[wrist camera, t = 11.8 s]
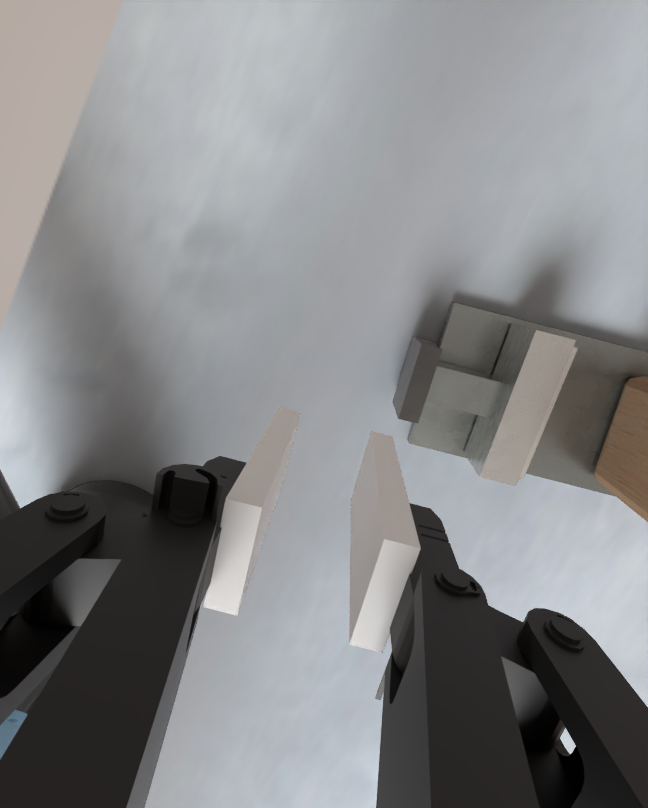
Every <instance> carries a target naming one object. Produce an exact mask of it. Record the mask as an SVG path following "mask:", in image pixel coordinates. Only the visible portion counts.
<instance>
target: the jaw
mask: <svg viewBox="0 0 648 808" xmlns="http://www.w3.org/2000/svg"><path fill="white" fill-rule="evenodd" d="M575 342H576V340H573V339H570V338H566V337H562V336H558V335H554V334H550V333H546V332H542V331H539V330H535V329H531V328H527V327H523V326H519V325H515V324H511V327H510V329H509V332H508V335H507V338H506V340H505V343H504V346H503V348H502V351H501V354H500V357H499V359H498V362H497V365H496V367H495V370H494V373H493V375H491V374H487V373H483V372H480V371H476V370H472V369H468V368H464V367H460V366H456V365H452V364H448V363H445V362H441V361H439V359H440V355H441V352H442V348H440V347H439V346H437V345H436V344H435V343H433V342H432V341H430V340H426V339H422V338H419V337H415V336H413V337H412V340H411V343H410V346H409V350H408V353H407V356H406V359H405V363H404V366H403V369H402V373H401V376H400V379H399V382H398V386H397V389H396V392H395V395H394V399H393V404H394V407H395V410H396V413H397V416H398V419H402V420H406V421H410V422H414V423H419V419H420V416H421V413H422V410H423V407H424V404H425V402H428V403H432V404H436V405H440V406H444V407H448V408H452V409H455V410H459V411H463V412H467V413H471V414H475V415H478V416H477V419H476V422H475V425H474V427H473V430H472V433H471V435H470V438H469V441H468V444H467V446H466V449H465V452H464V454H465V455H466V457H467V458H468V460H469V461H470V463H471V465H472V466H473V468H474V469H475V471H476V472H477V474H478V475H479V477H482V478H486V479H490V480H494V481H498V482H502V483H506V484H510V485H513V486H516V484H517V482H518V480H519V479H522V480H523V479H524V476H525V474H526V471H527V469H528V467H529V464H530V462H531V459H532V457H533V455H534V452H535V450H536V447H537V445H538V443H539V440H540V438H541V435H542V433H543V431H544V428H545V426H546V424H547V421H548V419H549V416H550V414H551V412H552V409H553V407H554V404H555V402H556V400H557V397H558V395H559V392H560V390H561V388H562V385H563V383H564V380H565V378H566V376H567V373H568V371H569V369H570V366H571V364H572V361H573V359H574V357H575V354H576V352H577V349H578V348H576V347H574V345H575Z"/></svg>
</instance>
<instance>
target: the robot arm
mask: <svg viewBox="0 0 648 808" xmlns="http://www.w3.org/2000/svg"><path fill="white" fill-rule="evenodd" d="M300 414H301V413H298V412H294V411H290V410H287V409H283V408H279V410H278V411H277V413H276V415H275V416H274V418H273V420H272V421H271V423H270V425H269V426H268V428H267V430H266V431H265V433H264V435H263V436H262V438H261V440H260V441H259V443H258V445H257V447H256V448H255V450H254V452H253V453H252V455H251V457H250V458H249V460H248V462H247V463H245V462H241V461H237V460H233V459H230V458H226V457H222V456H219V457H217V458H214V459H212V460H209V461H207V462H206V463H205V464H204V466H203V467H202V466H198V465H189V464H181V465H172V466H169V467H166V468H163V469H162V470H161V471H159V472H158V473H157V475H156V482H155V489H154V495H153V496H152V495H150V494H149V493H147V492H145V491H143V490H141V489H139V488H137V487H135V486H132V485H129V484H125V483H121V482H115V481H95V482H89V483H85V484H82V485H80V486H77V487H75V488H73V489H72V490H70V491H69V492H61V493H55V494H50V495H47V496H44V497H42V498H39V499H37V500H35V501H33V502H31V503H30V504H28V505H26V506H24V507H22V508H21V509H20V507H19V505H18V503H17V501H16V499H15V497H14V495H13V493H12V491H11V489H10V487H9V485H8V484H7V482H6V480H5V478H4V476H3V474H2V472H1V470H0V808H144V807H145V804H146V800H147V796H148V793H149V789H150V786H151V782H152V779H153V775H154V772H155V768H156V765H157V761H158V758H159V754H160V751H161V747H162V744H163V740H164V736H165V733H166V729H167V726H168V722H169V719H170V715H171V712H172V708H173V705H174V701H175V698H176V694H177V691H178V687H179V684H180V680H181V676H182V673H183V669H184V666H185V662H186V659H187V655H188V652H189V648H190V645H191V641H192V638H193V634H194V631H195V627H196V624H197V619H198V614H199V609H200V604H201V602H202V600H203V598H204V596H205V594H206V597H205V602H204V607H205V608H209V609H213V610H217V611H221V612H225V613H229V614H233V615H238V612H239V609H240V606H241V603H242V600H243V598H244V595H245V592H246V589H247V586H248V583H249V580H250V578H251V575H252V572H253V569H254V566H255V563H256V560H257V558H258V555H259V552H260V549H261V546H262V543H263V540H264V538H265V535H266V532H267V529H268V526H269V523H270V520H271V517H272V515H273V512H274V509H275V506H276V503H277V500H278V497H279V495H280V492H281V489H282V486H283V483H284V480H285V475H286V471H287V467H288V463H289V459H290V455H291V451H292V447H293V443H294V439H295V434H296V430H297V426H298V422H299V418H300ZM448 542H449V540H448V537H447V535H446V534H445V529H444V527H443V524H442V521H441V520H440V518H439V517H438V516H437V515H436V514H435V513H434V512H433V511H432V510H431V509H430V508H426V507H422V506H418V505H414V504H410V503H409V500H408V496H407V492H406V489H405V485H404V481H403V477H402V473H401V469H400V465H399V461H398V457H397V453H396V449H395V445H394V441H393V438H392V436H388V435H384V434H380V433H376V432H372V431H371V434H370V437H369V440H368V444H367V447H366V451H365V454H364V457H363V461H362V464H361V467H360V471H359V474H358V477H357V481H356V484H355V488H354V491H353V494H352V498H351V545H350V639H349V644H350V645H354V646H358V647H362V648H366V649H370V650H374V651H378V652H382V653H383V651H384V649H385V646H386V643H387V640H388V638H389V635H390V634H391V644H392V653H391V656H390V658H389V661H388V664H387V667H386V669H385V672H384V675H383V677H382V680H381V683H380V686H379V688H378V691H377V694H376V697H375V698H376V699H378V700H381V697H382V694H383V692H384V698H383V713H382V728H381V744H380V759H379V774H378V790H377V805H376V808H648V707H647V706H646V705H645V703H644V702H643V701H642V700H641V698H640V697H639V696H638V695H637V693H636V692H635V691H634V689H633V688H632V687H631V686H630V684H629V683H628V682H627V681H626V679H625V678H624V677H623V675H622V674H621V673H620V672H619V670H618V669H617V668H616V667H615V665H614V664H613V663H612V661H611V660H610V659H609V658H608V656H607V655H606V654H605V652H604V651H603V650H602V649H601V647H600V646H599V645H598V644H597V642H596V641H595V640H594V639H593V638H592V637H591V636H590V635H589V634H588V633H587V632H586V631H585V630H584V629H583V628H582V627H580V626H579V625H578V624H576V623H575V622H574V621H573V620H572V619H570V618H568V617H567V616H564V615H562V614H560V613H558V612H554V611H551V610H548V609H540V608H534V609H533V610H531V611H529V612H528V614H527V616H526V618H525V620H524V622H521V621H519V620H517V619H515V618H512V617H510V616H508V615H506V614H504V613H502V612H500V611H498V610H496V609H494V608H492V607H491V606H489V605H488V603H487V599H486V595H485V593H484V591H483V589H482V587H481V586H480V585H479V584H478V583H477V581H476V580H475V579H474V578H473V577H471V576H470V575H468V574H467V573H465V572H464V571H463V570H461V569H459V567H458V564H457V562H456V559H455V556H454V554H453V551H452V548H451V546H450V543H448ZM565 727H566V729H567V731H568V733H569V734H570V736H571V738H572V740H573V741H574V743H575V745H576V747H575V749H574V751H573V753H571V754H569V753H568V751H567V750H566V749H565V747H564V745H563V743H562V742H561V740H560V736H561V735H562V733H563V731H564V729H565Z"/></svg>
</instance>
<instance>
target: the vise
mask: <svg viewBox="0 0 648 808" xmlns="http://www.w3.org/2000/svg"><path fill="white" fill-rule="evenodd" d="M511 324H515V325H519V326H523V327H527V328H531V329H535V330H539V331H542V332H546V333H550V334H554V335H558V336H562V337H566V338H570V339H573V340H576V342H575V345H574V347H576V348H578V349H577V352H576V354H575V357H574V359H573V361H572V364H571V366H570V369H569V371H568V373H567V376H566V378H565V380H564V383H563V385H562V388H561V390H560V392H559V395H558V397H557V400H556V402H555V404H554V407H553V409H552V412H551V414H550V416H549V419H548V421H547V424H546V426H545V428H544V431H543V433H542V435H541V438H540V440H539V443H538V445H537V447H536V450H535V452H534V455H533V457H532V459H531V462H530V464H529V467H528V469H527V471H526V473H527V474H531V475H534V476H538V477H542V478H546V479H550V480H554V481H558V482H562V483H566V484H569V485H573V486H577V487H581V488H585V489H589V490H593V491H597V492H601V493H604V494H608V495H612V496H615V495H614V494H613V493H611V492H610V491H609V490H608V489H606V488H605V487H604V486H603V485H602V484H600V483H599V482H598V481H597V480H596V478H595V467H596V464H597V461H598V459H599V456H600V453H601V450H602V447H603V445H604V442H605V439H606V436H607V433H608V431H609V428H610V425H611V422H612V419H613V417H614V414H615V411H616V408H617V405H618V403H619V400H620V397H621V394H622V391H623V388H624V386H625V384H626V382H627V381H628V380H629V379H630V378H636V377H641V376H645V377H648V352H644V351H640V350H636V349H633V348H629V347H625V346H621V345H617V344H613V343H609V342H605V341H602V340H598V339H594V338H590V337H586V336H582V335H578V334H574V333H571V332H567V331H563V330H559V329H555V328H551V327H547V326H544V325H540V324H536V323H532V322H528V321H524V320H520V319H516V318H513V317H509V316H505V315H501V314H497V313H493V312H489V311H485V310H482V309H478V308H474V307H470V306H466V305H462V304H458V303H454V302H452V304H451V307H450V310H449V313H448V316H447V319H446V322H445V325H444V329H443V332H442V335H441V338H440V341H439V344H438V346H439V347H440V348H442V352H441V355H440V359H439V361H441V362H445V363H448V364H452V365H456V366H460V367H464V368H468V369H472V370H476V371H480V372H483V373H487V374H491V375H493V373H494V370H495V367H496V365H497V362H498V359H499V357H500V354H501V351H502V348H503V346H504V343H505V340H506V338H507V335H508V332H509V329H510V327H511ZM477 416H478V415H475V414H471V413H467V412H463V411H459V410H455V409H452V408H448V407H444V406H440V405H436V404H432V403H428V402H425V404H424V407H423V410H422V413H421V416H420V419H419V423H414V422H413V424H412V427H411V430H410V433H409V436H408V442H409V443H410V444H414V445H418V446H422V447H426V448H429V449H433V450H437V451H441V452H445V453H449V454H453V455H457V456H461V457H464V458H467V457H466V455H465V454H464V452H465V449H466V446H467V444H468V441H469V438H470V435H471V433H472V430H473V427H474V425H475V422H476V419H477Z"/></svg>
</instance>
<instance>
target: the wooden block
mask: <svg viewBox="0 0 648 808" xmlns="http://www.w3.org/2000/svg"><path fill="white" fill-rule="evenodd" d="M595 478H596V480H597V481H598V482H599V483H600V484H602V485H603V486H604V487H605V488H606V489H608V490H609V491H610V492H611V493H613V494H614V495H615V496H616V497H618V498H619V499H620V500H621V501H623V502H624V503H625V504H626V505H627V506H629V507H630V508H631V509H632V510H634V511H635V512H636V513H637V514H639V515H640V516H641V517H642V518H644V519H645V520H646V521H647V522H648V377H645V376H641V377H636V378H630V379H629V380H628V381H627V382H626V384H625V386H624V388H623V391H622V394H621V397H620V400H619V403H618V405H617V408H616V411H615V414H614V417H613V419H612V422H611V425H610V428H609V431H608V433H607V436H606V439H605V442H604V445H603V447H602V450H601V453H600V456H599V459H598V461H597V464H596V467H595Z"/></svg>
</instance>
